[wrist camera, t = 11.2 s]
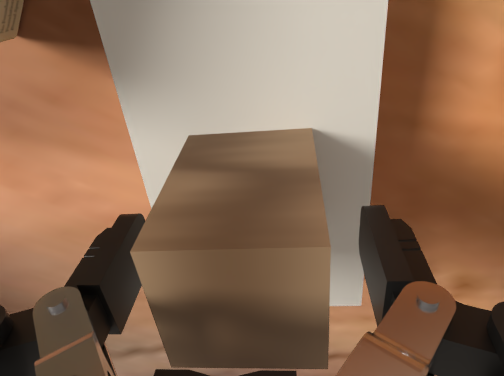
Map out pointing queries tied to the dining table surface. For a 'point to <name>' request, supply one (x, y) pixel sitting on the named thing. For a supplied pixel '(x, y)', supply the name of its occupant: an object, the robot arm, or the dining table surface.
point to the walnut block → (240, 253)
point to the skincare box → (10, 18)
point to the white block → (256, 91)
